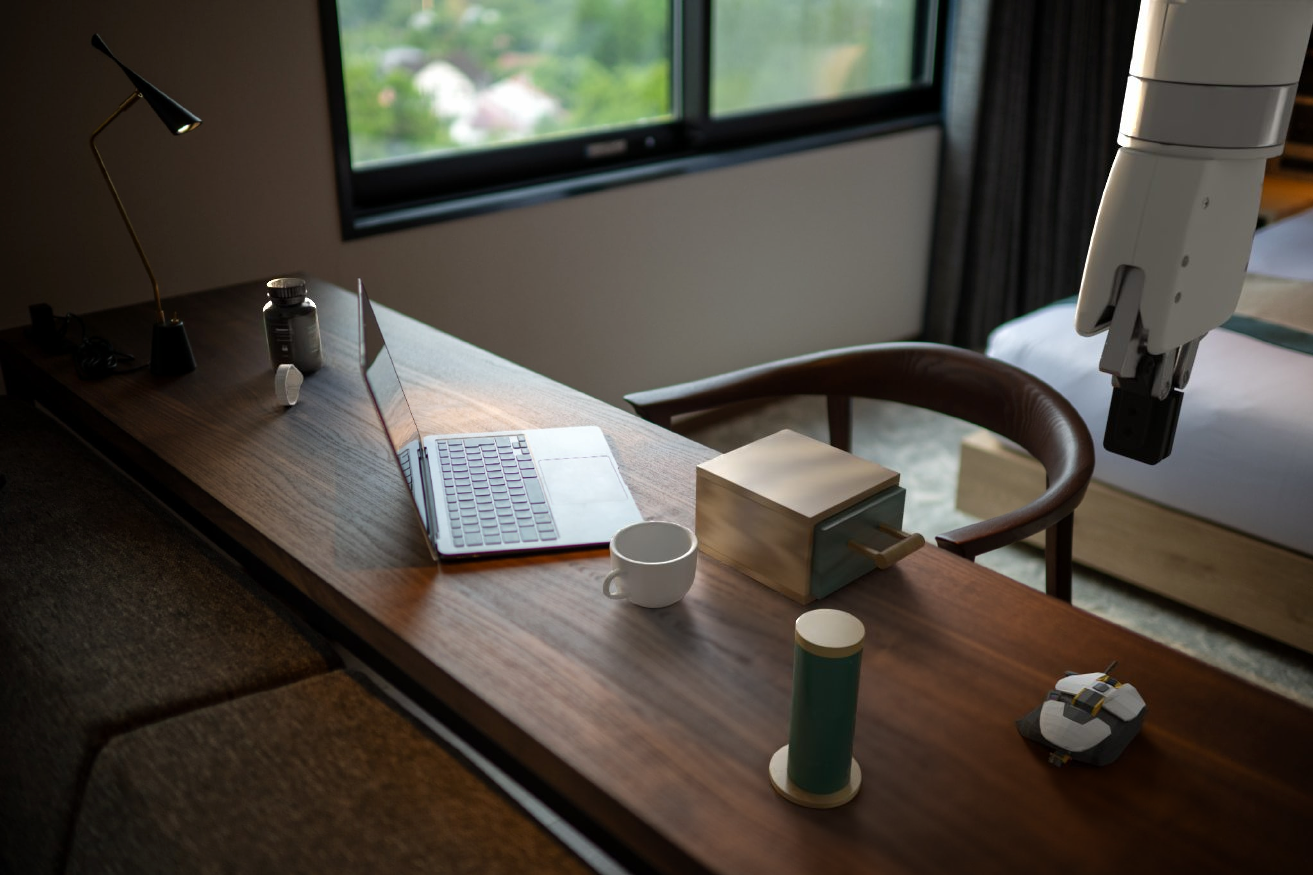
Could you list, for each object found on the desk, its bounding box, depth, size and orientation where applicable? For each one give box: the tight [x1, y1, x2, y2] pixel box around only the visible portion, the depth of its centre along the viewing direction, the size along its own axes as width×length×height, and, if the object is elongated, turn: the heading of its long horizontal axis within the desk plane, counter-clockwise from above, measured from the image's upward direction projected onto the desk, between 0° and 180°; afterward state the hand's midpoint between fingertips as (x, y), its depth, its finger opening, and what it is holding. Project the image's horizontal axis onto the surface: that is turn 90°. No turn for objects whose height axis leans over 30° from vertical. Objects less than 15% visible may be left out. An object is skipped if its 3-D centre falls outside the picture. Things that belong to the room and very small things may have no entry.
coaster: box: [768, 744, 863, 810], centre depth 77 cm, size 6×6×1 cm
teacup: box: [602, 520, 699, 609], centre depth 96 cm, size 10×8×5 cm
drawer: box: [809, 485, 926, 600], centre depth 101 cm, size 17×12×7 cm
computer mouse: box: [1014, 660, 1149, 768], centre depth 82 cm, size 7×15×4 cm, turn 137°
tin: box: [787, 608, 866, 794], centre depth 74 cm, size 4×4×12 cm
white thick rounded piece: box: [274, 365, 304, 406], centre depth 137 cm, size 3×5×5 cm, turn 1°
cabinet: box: [694, 428, 901, 606], centre depth 103 cm, size 14×13×9 cm
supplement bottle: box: [262, 277, 324, 376], centre depth 147 cm, size 7×7×12 cm
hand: (1135, 453), depth 62 cm, fingers closed
